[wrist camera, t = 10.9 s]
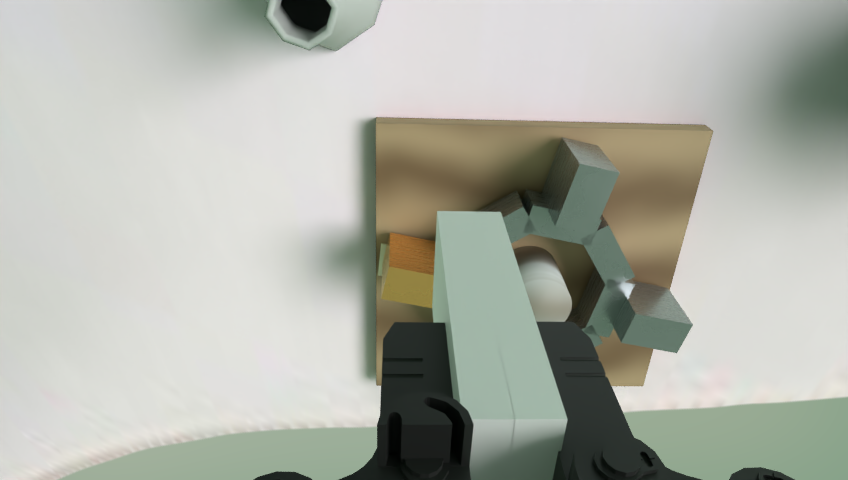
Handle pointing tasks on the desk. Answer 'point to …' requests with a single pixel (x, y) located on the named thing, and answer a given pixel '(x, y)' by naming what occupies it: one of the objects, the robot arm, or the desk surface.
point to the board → (528, 169)
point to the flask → (321, 21)
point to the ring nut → (573, 222)
